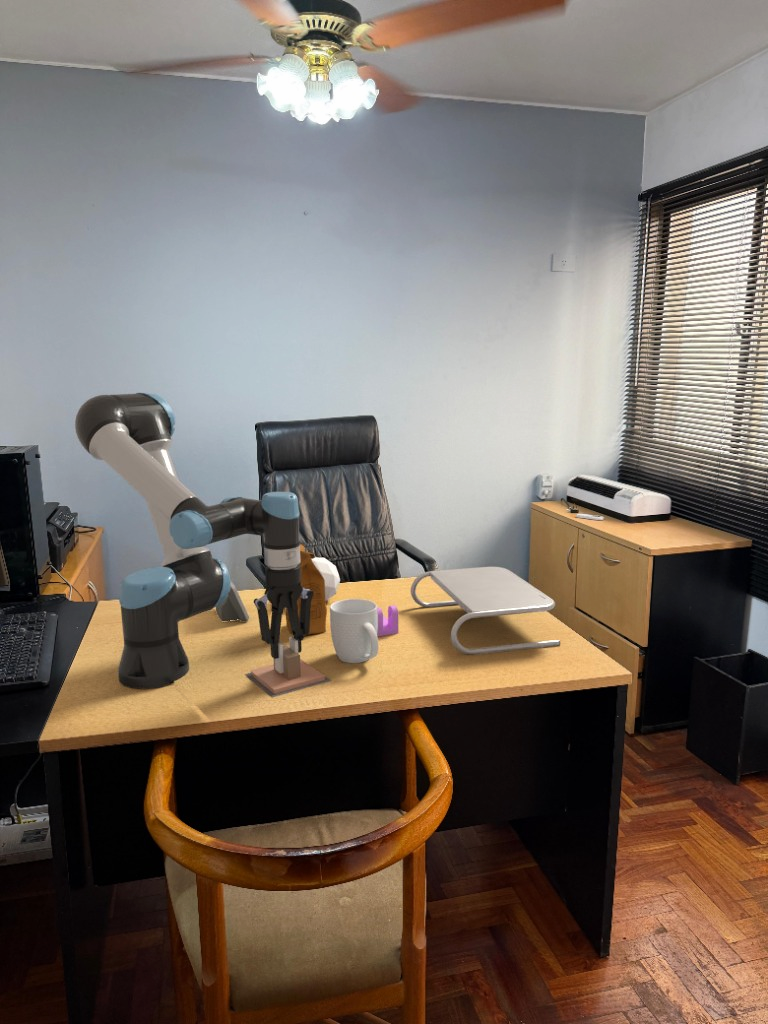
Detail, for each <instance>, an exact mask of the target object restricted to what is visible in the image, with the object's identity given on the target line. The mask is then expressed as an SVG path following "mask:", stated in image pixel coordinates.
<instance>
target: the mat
mask: <svg viewBox="0 0 768 1024" xmlns="http://www.w3.org/2000/svg"><path fill="white" fill-rule="evenodd" d="M244 675H245V676H246V678H248V679H249V680H251V681H252V682H253V683H254V684H255V685H257V686H258V687H259V688H260V689H262V691H264V692H265V693H266V694H267V695H269V696H270V697H271V698H276V697H279V696H282V695H287V694H289V693H292V692H296V691H300V690H303V689H307V688H310V687H314V686H317V685H321V684H325V683H328V682H331V681H332V680H331V679H330V678H328V677H327V676H326V675H325V680H323V681H319V682H316V683H312V684H309V685H305V686H302V687H298V688H295V689H291V690H288V691H284V692H281V693H277V694H274V693H272V692H271V691H270V690H269V689H267V688H266V687H265V686H264V685H263V684H261V683H260V682H259V681H258V680H257V679H255V678H254V677H253V676H252V675H251V672H248V673H244Z"/></svg>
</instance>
